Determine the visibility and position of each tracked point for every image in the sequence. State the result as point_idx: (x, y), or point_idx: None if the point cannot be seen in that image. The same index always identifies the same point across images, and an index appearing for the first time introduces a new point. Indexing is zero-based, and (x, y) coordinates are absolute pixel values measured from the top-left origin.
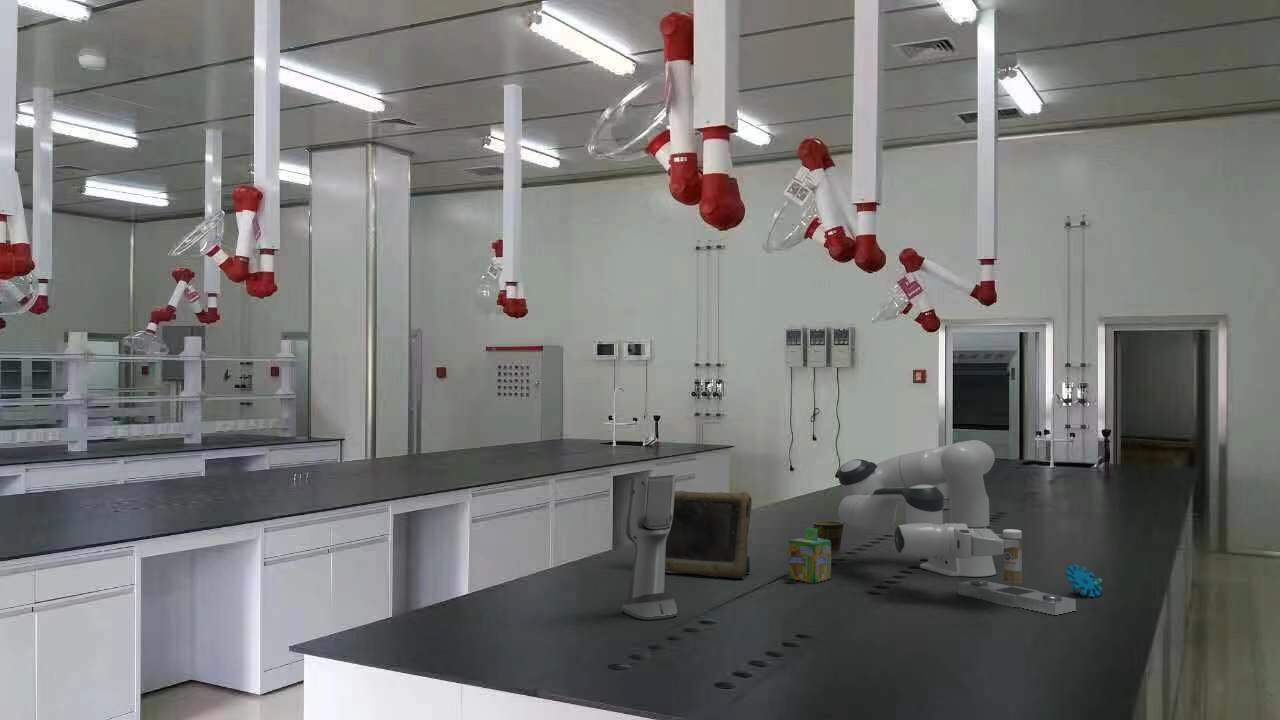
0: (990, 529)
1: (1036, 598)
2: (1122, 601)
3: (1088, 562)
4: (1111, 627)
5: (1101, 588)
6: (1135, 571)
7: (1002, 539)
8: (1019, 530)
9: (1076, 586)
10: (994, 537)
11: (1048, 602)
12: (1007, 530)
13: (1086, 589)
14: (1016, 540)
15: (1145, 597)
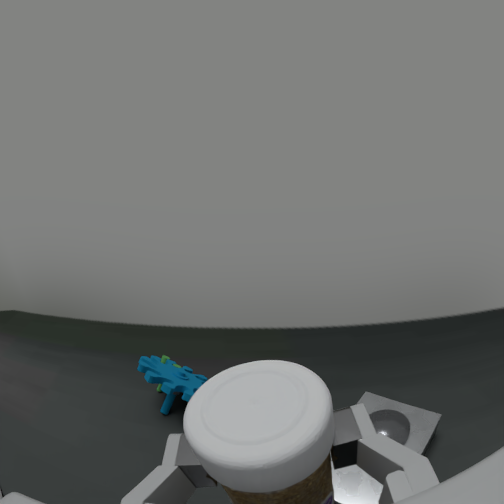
0: (21, 496)
1: None
2: (240, 355)
3: (8, 358)
4: (461, 346)
5: (187, 367)
6: (63, 333)
7: (405, 480)
8: (247, 366)
9: None
10: (500, 496)
11: (433, 430)
12: (265, 431)
13: None
14: (365, 409)
15: (207, 334)
